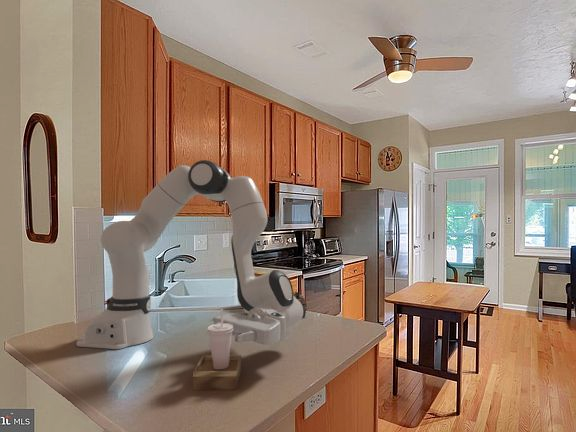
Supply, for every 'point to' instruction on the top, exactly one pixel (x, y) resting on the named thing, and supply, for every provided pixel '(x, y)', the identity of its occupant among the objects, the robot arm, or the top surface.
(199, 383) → the wooden tray
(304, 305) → the cupcake
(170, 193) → the robot arm
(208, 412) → the top surface
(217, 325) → the smoothie
